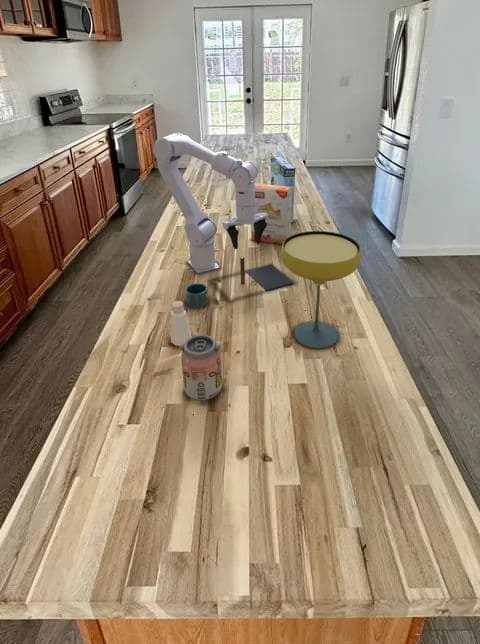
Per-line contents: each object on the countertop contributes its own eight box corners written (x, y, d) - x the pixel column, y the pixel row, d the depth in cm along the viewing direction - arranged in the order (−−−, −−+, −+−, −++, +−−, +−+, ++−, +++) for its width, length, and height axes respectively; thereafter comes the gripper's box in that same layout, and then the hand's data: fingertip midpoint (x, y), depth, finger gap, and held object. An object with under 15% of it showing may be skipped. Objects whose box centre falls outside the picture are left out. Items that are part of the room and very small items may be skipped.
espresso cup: (183, 300, 127) (182, 286, 125) (203, 294, 129) (202, 281, 127) (191, 310, 122) (189, 296, 120) (211, 304, 124) (210, 291, 122)
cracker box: (250, 240, 164) (249, 187, 155) (256, 234, 169) (255, 182, 160) (286, 245, 159) (287, 190, 150) (291, 239, 164) (292, 185, 155)
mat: (210, 280, 137) (210, 279, 137) (271, 265, 145) (271, 264, 145) (228, 301, 126) (228, 300, 125) (293, 283, 134) (293, 282, 134)
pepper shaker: (168, 337, 111) (163, 300, 106) (188, 332, 113) (185, 295, 108) (173, 349, 106) (169, 311, 102) (194, 343, 108) (191, 306, 103)
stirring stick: (240, 283, 134) (239, 256, 130) (243, 282, 135) (243, 256, 131) (241, 284, 133) (241, 258, 129) (245, 283, 134) (245, 257, 130)
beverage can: (187, 372, 99) (183, 328, 94) (224, 372, 99) (222, 328, 93) (181, 402, 91) (175, 356, 85) (221, 403, 90) (218, 357, 85)
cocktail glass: (364, 353, 103) (375, 259, 93) (290, 362, 101) (293, 267, 90) (337, 311, 120) (344, 227, 109) (273, 319, 117) (273, 233, 106)
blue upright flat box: (269, 208, 196) (269, 157, 186) (280, 206, 197) (281, 156, 187) (282, 223, 179) (283, 168, 169) (294, 222, 180) (295, 167, 170)
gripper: (228, 212, 123) (230, 255, 129) (273, 203, 129) (273, 245, 135) (219, 205, 129) (221, 246, 135) (262, 197, 135) (262, 237, 141)
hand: (246, 245), depth 135 cm, fingers open, 7 cm apart
